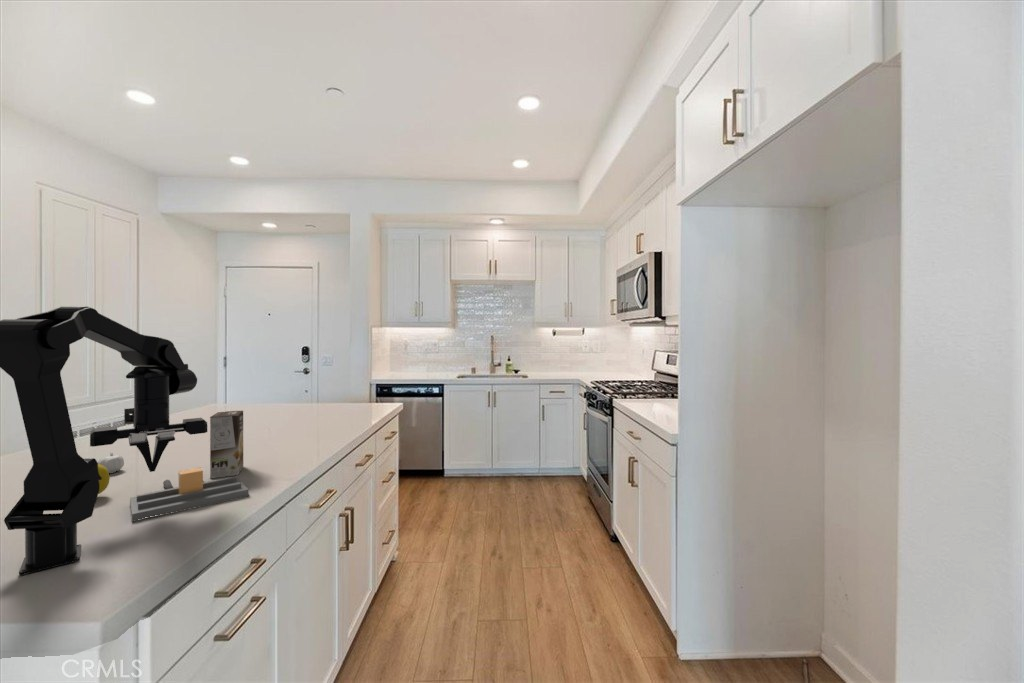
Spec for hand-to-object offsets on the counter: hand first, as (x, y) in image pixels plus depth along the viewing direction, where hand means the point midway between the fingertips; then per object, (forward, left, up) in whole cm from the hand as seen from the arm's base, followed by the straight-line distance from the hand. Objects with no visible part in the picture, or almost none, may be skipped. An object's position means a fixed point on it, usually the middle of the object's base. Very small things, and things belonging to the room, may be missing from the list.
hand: (152, 471), depth 90 cm
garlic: (+40, +6, -8) cm, 41 cm away
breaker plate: (0, -7, -8) cm, 10 cm away
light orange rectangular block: (0, -7, -6) cm, 9 cm away
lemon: (+17, +9, -8) cm, 21 cm away
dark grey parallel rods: (+11, -7, -8) cm, 15 cm away
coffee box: (+18, -17, -8) cm, 26 cm away
